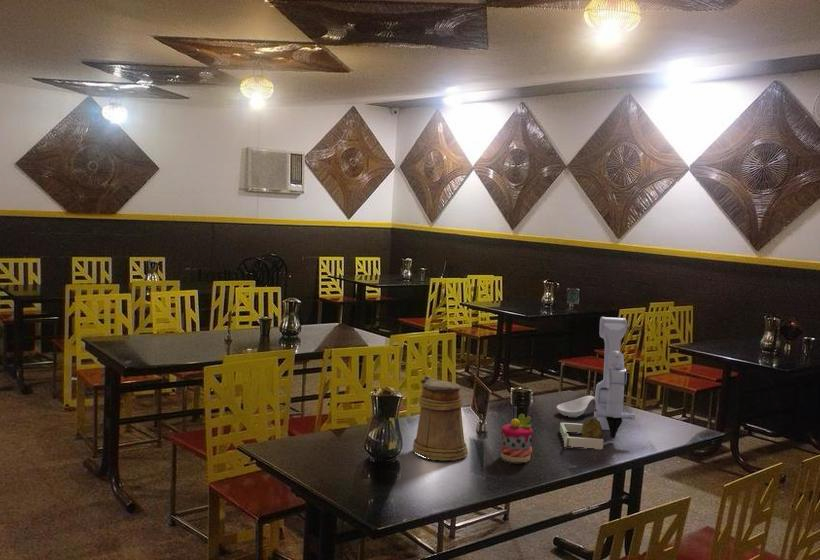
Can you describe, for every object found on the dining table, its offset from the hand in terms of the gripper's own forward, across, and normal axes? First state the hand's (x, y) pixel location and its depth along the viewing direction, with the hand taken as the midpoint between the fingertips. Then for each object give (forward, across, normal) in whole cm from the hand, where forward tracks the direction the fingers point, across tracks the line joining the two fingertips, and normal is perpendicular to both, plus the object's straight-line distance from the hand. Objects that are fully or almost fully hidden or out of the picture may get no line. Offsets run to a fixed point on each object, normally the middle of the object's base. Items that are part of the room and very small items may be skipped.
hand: (612, 437), depth 277 cm
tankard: (+2, -64, -26) cm, 69 cm away
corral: (+2, -11, 0) cm, 11 cm away
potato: (+2, -8, -2) cm, 9 cm away
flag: (+2, -18, -12) cm, 22 cm away
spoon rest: (+2, -7, +38) cm, 38 cm away
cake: (+2, -37, -27) cm, 46 cm away
